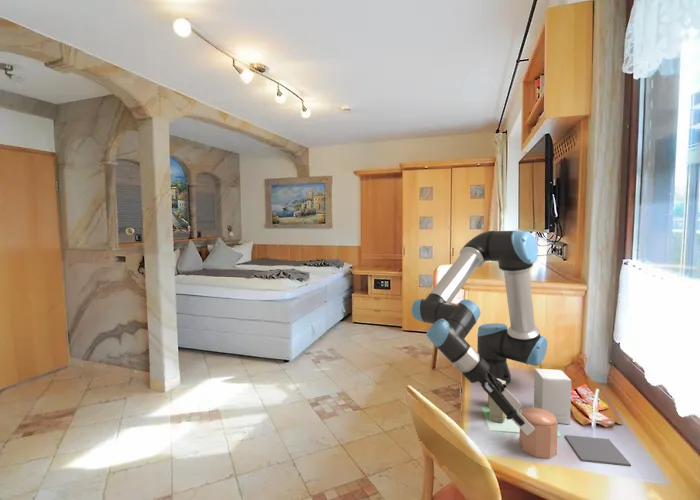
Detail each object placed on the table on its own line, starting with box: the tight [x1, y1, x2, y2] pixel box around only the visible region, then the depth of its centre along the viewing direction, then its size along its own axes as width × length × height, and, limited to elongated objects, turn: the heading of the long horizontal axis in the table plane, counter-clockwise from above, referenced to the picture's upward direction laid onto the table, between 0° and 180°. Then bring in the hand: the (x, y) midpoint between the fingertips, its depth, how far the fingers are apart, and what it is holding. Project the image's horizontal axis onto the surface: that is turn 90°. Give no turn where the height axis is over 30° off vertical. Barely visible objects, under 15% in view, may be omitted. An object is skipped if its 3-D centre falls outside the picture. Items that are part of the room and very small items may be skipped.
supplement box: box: [533, 367, 572, 425], centre depth 123 cm, size 9×9×15 cm
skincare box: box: [488, 380, 507, 424], centre depth 123 cm, size 6×4×12 cm
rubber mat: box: [564, 434, 632, 467], centre depth 105 cm, size 12×12×1 cm
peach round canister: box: [519, 406, 559, 460], centre depth 105 cm, size 9×9×10 cm
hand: (524, 419), depth 105 cm, fingers open, 13 cm apart
